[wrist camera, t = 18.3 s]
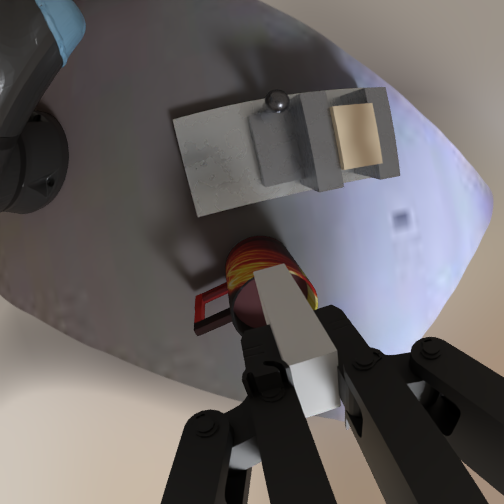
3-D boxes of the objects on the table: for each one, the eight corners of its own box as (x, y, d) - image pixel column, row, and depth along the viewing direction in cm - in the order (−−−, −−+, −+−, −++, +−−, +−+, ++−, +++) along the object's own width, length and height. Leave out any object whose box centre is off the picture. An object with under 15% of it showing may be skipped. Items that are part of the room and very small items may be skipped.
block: (319, 165, 37) (344, 169, 30) (308, 113, 35) (332, 106, 27) (352, 159, 38) (382, 163, 30) (343, 109, 35) (372, 102, 28)
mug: (194, 294, 43) (190, 343, 32) (255, 221, 40) (271, 251, 29) (244, 327, 46) (255, 378, 35) (304, 262, 43) (334, 300, 32)
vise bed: (198, 214, 39) (194, 232, 31) (174, 120, 34) (163, 113, 27) (374, 174, 40) (407, 182, 32) (358, 89, 36) (390, 79, 28)
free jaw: (264, 192, 38) (277, 204, 30) (244, 103, 33) (252, 91, 26) (322, 180, 38) (348, 188, 30) (304, 93, 34) (327, 81, 26)
